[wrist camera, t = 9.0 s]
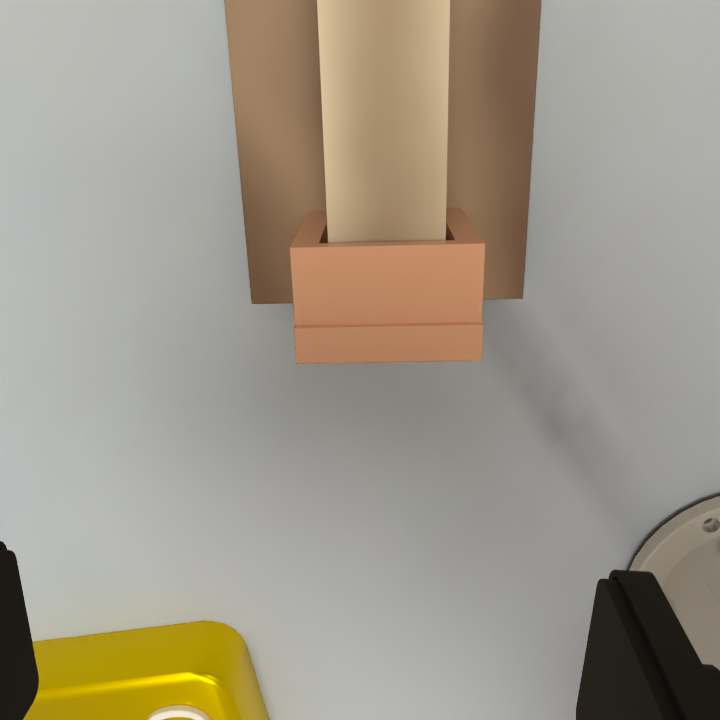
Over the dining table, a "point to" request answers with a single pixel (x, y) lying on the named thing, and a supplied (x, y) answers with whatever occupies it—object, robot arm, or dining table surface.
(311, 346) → the terracotta socket
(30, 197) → the dining table surface
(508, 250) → the walnut board
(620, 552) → the dining table surface
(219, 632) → the element tile
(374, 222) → the tube
